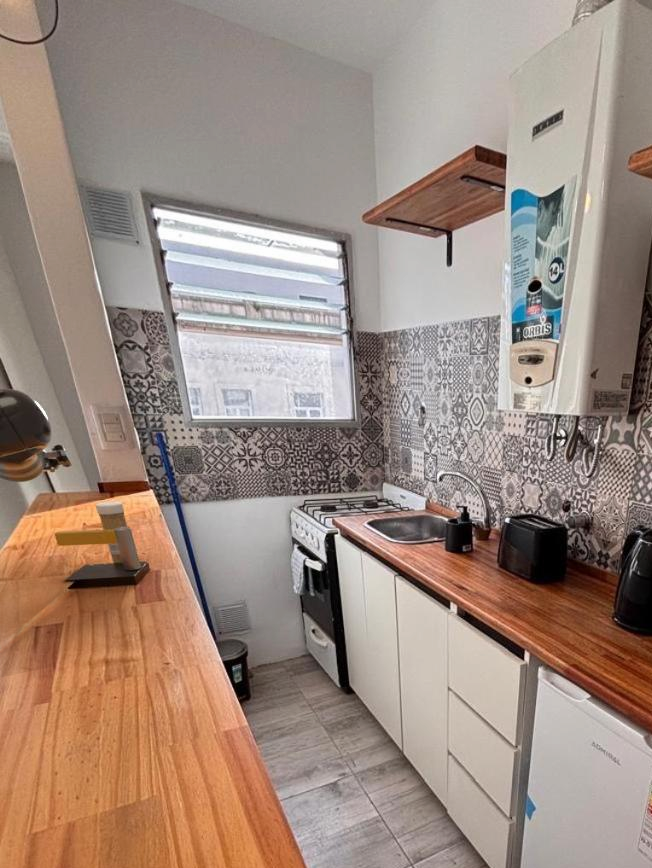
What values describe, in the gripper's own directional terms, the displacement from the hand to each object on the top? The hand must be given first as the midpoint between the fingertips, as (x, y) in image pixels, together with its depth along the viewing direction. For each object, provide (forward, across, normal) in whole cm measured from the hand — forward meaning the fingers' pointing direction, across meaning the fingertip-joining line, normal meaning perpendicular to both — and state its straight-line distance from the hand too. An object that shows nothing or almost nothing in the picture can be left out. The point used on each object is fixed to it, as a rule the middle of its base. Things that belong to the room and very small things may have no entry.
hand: (20, 470), depth 90 cm
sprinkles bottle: (+12, -10, +20) cm, 25 cm away
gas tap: (+5, -5, +19) cm, 21 cm away
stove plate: (+6, -6, +21) cm, 23 cm away
